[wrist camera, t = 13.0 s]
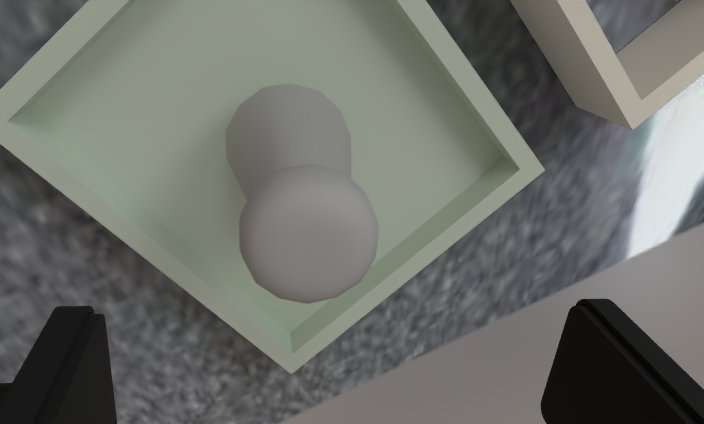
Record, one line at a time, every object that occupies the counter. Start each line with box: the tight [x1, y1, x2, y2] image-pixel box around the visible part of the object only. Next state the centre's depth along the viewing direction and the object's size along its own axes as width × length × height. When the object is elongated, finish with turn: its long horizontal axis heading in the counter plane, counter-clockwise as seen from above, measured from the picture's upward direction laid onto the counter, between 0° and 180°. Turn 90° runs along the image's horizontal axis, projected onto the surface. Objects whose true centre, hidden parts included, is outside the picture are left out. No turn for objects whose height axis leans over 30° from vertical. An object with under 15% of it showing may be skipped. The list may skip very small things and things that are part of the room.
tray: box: [0, 0, 545, 374], centre depth 27 cm, size 18×20×3 cm
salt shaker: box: [226, 83, 379, 304], centre depth 22 cm, size 6×6×13 cm
